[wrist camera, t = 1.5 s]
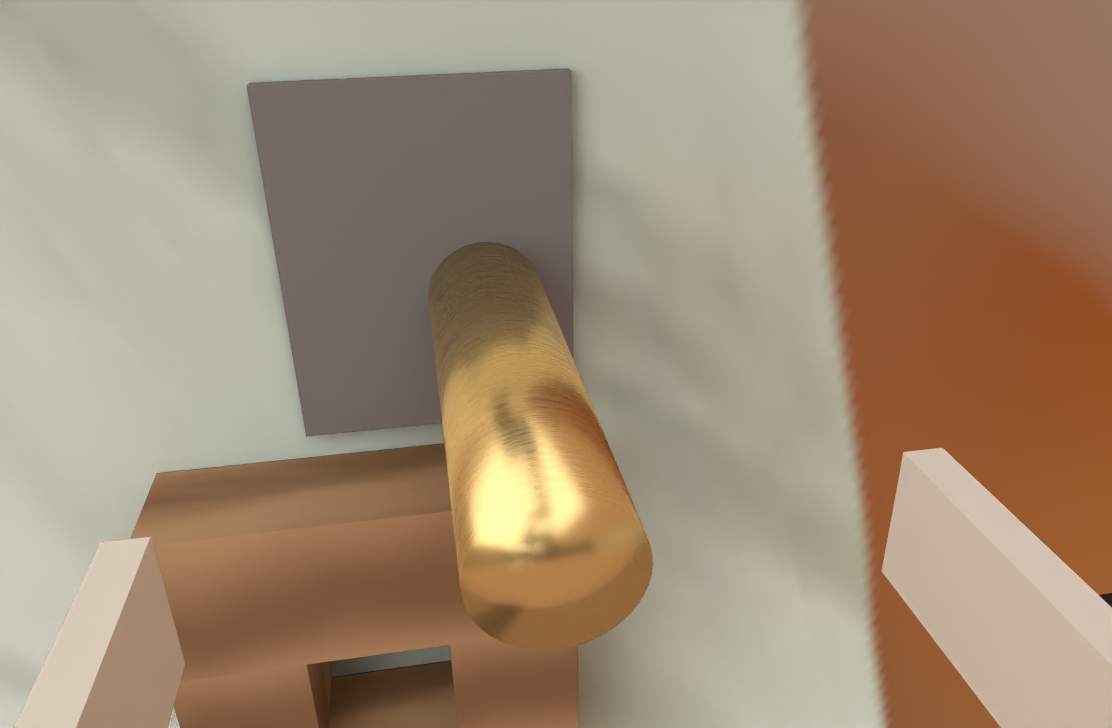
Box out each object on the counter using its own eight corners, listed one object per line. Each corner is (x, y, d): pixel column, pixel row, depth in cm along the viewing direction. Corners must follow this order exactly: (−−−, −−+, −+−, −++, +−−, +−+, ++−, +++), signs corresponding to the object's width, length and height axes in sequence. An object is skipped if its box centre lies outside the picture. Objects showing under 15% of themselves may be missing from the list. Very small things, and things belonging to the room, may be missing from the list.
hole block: (156, 473, 26) (126, 548, 23) (555, 432, 28) (576, 496, 25) (241, 789, 33) (226, 880, 30) (561, 739, 34) (578, 820, 31)
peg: (423, 246, 24) (453, 508, 14) (540, 237, 25) (655, 485, 14) (433, 351, 26) (466, 661, 15) (542, 341, 26) (649, 636, 16)
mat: (249, 82, 22) (246, 85, 22) (567, 68, 23) (570, 71, 23) (307, 429, 26) (306, 436, 26) (571, 402, 28) (573, 409, 27)
